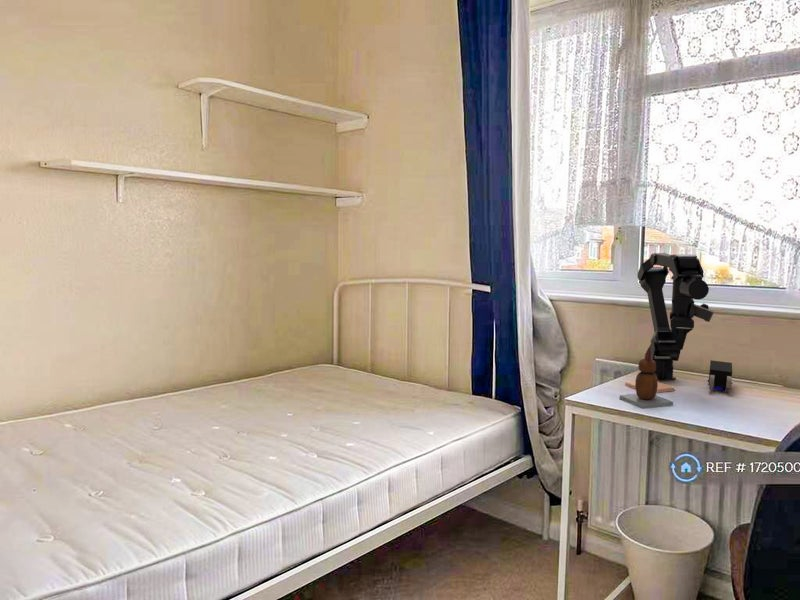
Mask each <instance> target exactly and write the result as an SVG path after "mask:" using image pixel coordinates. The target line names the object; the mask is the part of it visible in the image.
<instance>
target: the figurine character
mask: <svg viewBox="0 0 800 600" xmlns="http://www.w3.org/2000/svg"><path fill="white" fill-rule="evenodd" d="M709 361H710V362H709V376H708V379H707V382H708V384H707V385H708V386H709V387H713V388H712V392H713V393H716V390H717V391H723V394H727V389H731V387H732V385H733V382H732V380H733V377H732V376H733V363H732V362H729V361H727V362H726V361H719V360H712V359H711V360H709Z"/></svg>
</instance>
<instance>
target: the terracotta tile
mask: <svg viewBox="0 0 800 600" xmlns="http://www.w3.org/2000/svg"><path fill="white" fill-rule="evenodd" d="M635 382H636V380H634V381H625V382H624V383H625V384H624V385H625V386H626V387H628V388H631V389H632V390H633V389H634V390H636V388H635ZM675 390H676V389H675V387H674V386H672V385H669V384H665V383H663V382H661V381H658V387H657V392H656V394H657V393H664V392H674V391H675Z"/></svg>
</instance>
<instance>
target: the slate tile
mask: <svg viewBox="0 0 800 600" xmlns="http://www.w3.org/2000/svg"><path fill="white" fill-rule="evenodd" d="M619 400H622V401H624V402H626V401H627V403H629V404H632V405H634V406H636V407H638V408H641V409H648V408H657V407H668V406H673V405H674V401H673V400H670V399H668V398H666V397H661V396H659V395H657V394H656V395H655V397H654V398H653V399H650V400H645V399H641V398H639V397H638V396H637V393H630V394H629V393H628V394H619Z"/></svg>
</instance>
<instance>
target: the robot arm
mask: <svg viewBox="0 0 800 600" xmlns="http://www.w3.org/2000/svg"><path fill="white" fill-rule="evenodd" d="M669 272H671V274H672V276H671V280H672V290H671V291H672V293H671V294H672V295H671V311H670V312H669V317H668V312H667V308H666V301H665V297H664V291H663V288H664V285H665V284H666V281H667V276H668V274H669ZM704 273H705V272H704V269H703V267H702V264H701V262H700V259H699V258H698V255H696V254H693V253H690V254H687V253H685V254H681V253H680V254H679V253H675V254H668V253H666V252H654V253H651V255H649V257H648V258H647V260H645V261H644V262H642V263H641V264H640V267H639V269H638V271H637V279H638V281H639V284H640V287H641V288H642V289H643V290H644V292H646V294H647V298H648V305H649V310H650V314H651V315H650V316H651V321H652V327H653V331H654V333H653V335H652V336H651V339H650V345H649V346H648V348H651V359H652V360H654V361H655V363H656V370H655V372H653V373H655V374H656V376H657V379H658V381H659V382H661V381H672V380H677V377H675V376H674V365H673V364H674V362H678V361H679V360H680V355H681V351H683V348H684V345H685V342H686V339H687V335H688V333H690V332H691V331H693V330H694V329H695V320H694V319H693V318H695V317H697V318H698V319H702V320H703V321H705V322H706V323H707V322H708V323H709V322H711V319H712V318H713V316H714V311H713V310H712V309H710V308H709V305H708V304H706V303H704V302H703V303H701V304H700V305H699V304H695V300H697V301H698V300H703V299H704V298H706V297H707V295H708V294H709V291H710V289H709V285H708V284H707V282H706V281H705V280H703V278H704V277H705V275H704Z"/></svg>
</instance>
